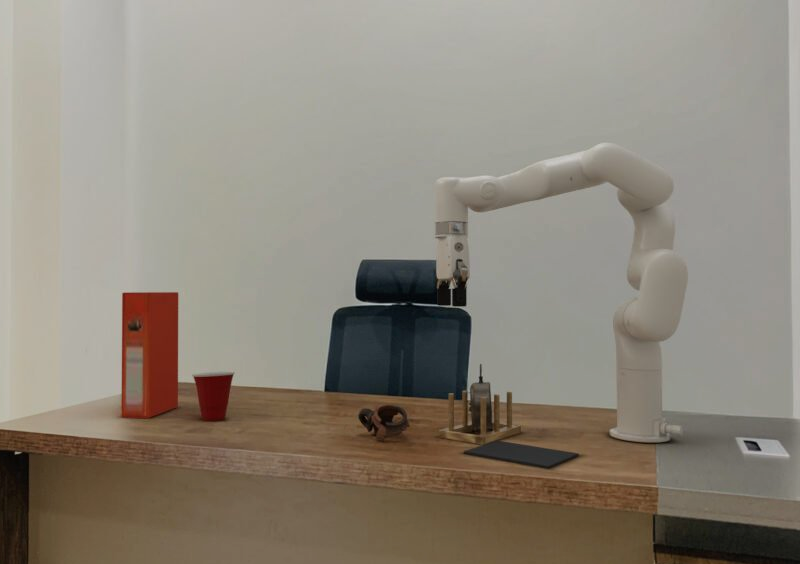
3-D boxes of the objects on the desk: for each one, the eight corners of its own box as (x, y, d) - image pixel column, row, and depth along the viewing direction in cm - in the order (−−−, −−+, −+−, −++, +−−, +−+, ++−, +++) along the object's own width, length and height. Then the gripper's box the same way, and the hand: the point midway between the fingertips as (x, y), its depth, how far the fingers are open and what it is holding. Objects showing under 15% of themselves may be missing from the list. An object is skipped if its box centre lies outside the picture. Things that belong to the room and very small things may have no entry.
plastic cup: (219, 413, 188) (219, 368, 188) (243, 419, 180) (243, 371, 180) (183, 418, 180) (183, 371, 181) (206, 424, 173) (206, 375, 173)
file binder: (120, 417, 182) (122, 292, 183) (150, 406, 199) (152, 292, 200) (149, 418, 180) (151, 292, 181) (177, 407, 197) (179, 292, 198)
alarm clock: (493, 440, 157) (493, 366, 157) (468, 439, 158) (468, 365, 158) (492, 430, 167) (492, 361, 168) (469, 429, 168) (469, 361, 169)
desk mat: (578, 455, 142) (578, 453, 142) (548, 468, 132) (548, 466, 132) (497, 442, 154) (497, 440, 154) (464, 453, 144) (463, 451, 144)
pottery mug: (410, 435, 163) (415, 407, 160) (398, 461, 156) (403, 433, 152) (362, 419, 167) (366, 391, 163) (347, 443, 159) (351, 415, 155)
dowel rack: (520, 432, 166) (520, 391, 166) (483, 444, 152) (483, 399, 153) (478, 426, 173) (478, 386, 173) (438, 437, 160) (438, 394, 160)
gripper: (481, 228, 156) (481, 306, 155) (453, 234, 173) (453, 305, 172) (449, 227, 154) (449, 306, 154) (423, 234, 171) (423, 305, 171)
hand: (451, 306), depth 163 cm, fingers open, 9 cm apart
